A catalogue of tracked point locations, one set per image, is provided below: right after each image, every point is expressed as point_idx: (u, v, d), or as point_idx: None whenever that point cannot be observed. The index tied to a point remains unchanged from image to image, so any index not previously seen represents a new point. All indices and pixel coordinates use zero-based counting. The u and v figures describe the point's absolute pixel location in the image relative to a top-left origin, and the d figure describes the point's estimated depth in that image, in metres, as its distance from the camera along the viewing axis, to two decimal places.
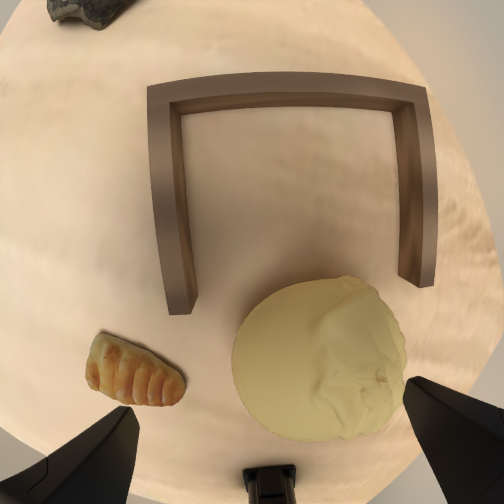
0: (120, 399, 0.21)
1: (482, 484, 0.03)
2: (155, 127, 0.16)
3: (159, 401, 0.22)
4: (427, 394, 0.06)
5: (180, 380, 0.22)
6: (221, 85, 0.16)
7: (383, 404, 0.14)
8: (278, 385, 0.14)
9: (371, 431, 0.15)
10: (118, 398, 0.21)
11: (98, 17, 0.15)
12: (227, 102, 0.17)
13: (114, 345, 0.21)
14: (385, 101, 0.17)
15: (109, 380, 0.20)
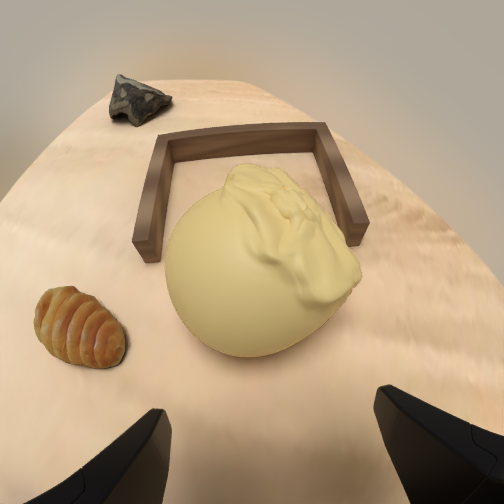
0: (54, 336, 0.18)
1: None
2: (157, 149, 0.29)
3: (91, 348, 0.19)
4: (395, 405, 0.06)
5: (121, 329, 0.20)
6: (197, 132, 0.30)
7: (307, 221, 0.15)
8: (195, 207, 0.17)
9: (319, 284, 0.14)
10: (53, 335, 0.18)
11: (137, 115, 0.37)
12: (201, 147, 0.31)
13: (76, 288, 0.22)
14: (298, 135, 0.31)
15: (55, 307, 0.19)
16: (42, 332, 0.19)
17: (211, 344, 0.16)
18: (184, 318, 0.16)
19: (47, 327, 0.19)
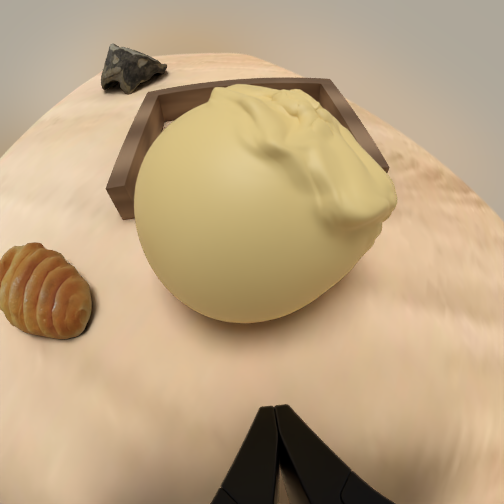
0: (11, 297, 0.14)
1: None
2: (146, 103, 0.24)
3: (49, 310, 0.14)
4: (278, 429, 0.06)
5: (86, 288, 0.16)
6: (190, 87, 0.26)
7: (322, 120, 0.10)
8: (176, 119, 0.12)
9: (346, 190, 0.09)
10: (10, 296, 0.14)
11: (129, 81, 0.32)
12: (194, 103, 0.27)
13: (42, 246, 0.18)
14: None
15: (15, 264, 0.15)
16: (0, 295, 0.14)
17: (189, 298, 0.11)
18: (152, 259, 0.11)
19: (5, 288, 0.14)
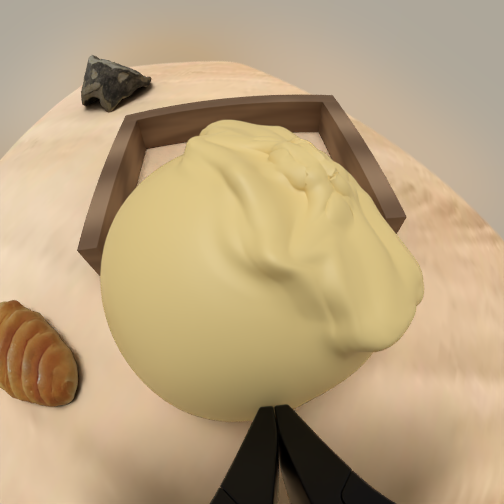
0: None
1: None
2: (123, 131, 0.21)
3: (34, 382, 0.12)
4: (278, 429, 0.06)
5: (69, 357, 0.13)
6: (172, 109, 0.23)
7: (339, 196, 0.08)
8: (142, 182, 0.09)
9: (369, 315, 0.06)
10: None
11: (110, 98, 0.29)
12: (178, 127, 0.24)
13: None
14: (300, 110, 0.24)
15: None
16: None
17: (176, 407, 0.09)
18: (130, 366, 0.09)
19: None
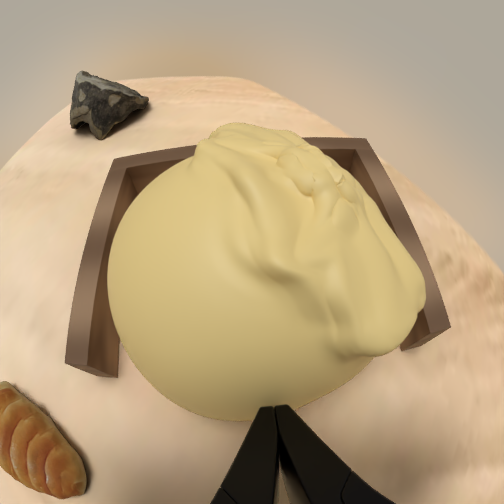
0: None
1: None
2: (109, 184, 0.18)
3: (43, 481, 0.08)
4: (278, 429, 0.06)
5: (74, 460, 0.10)
6: (170, 154, 0.19)
7: (345, 202, 0.08)
8: (152, 182, 0.10)
9: (370, 320, 0.07)
10: None
11: (100, 124, 0.26)
12: None
13: (12, 390, 0.12)
14: None
15: None
16: None
17: (177, 404, 0.09)
18: (133, 362, 0.09)
19: None
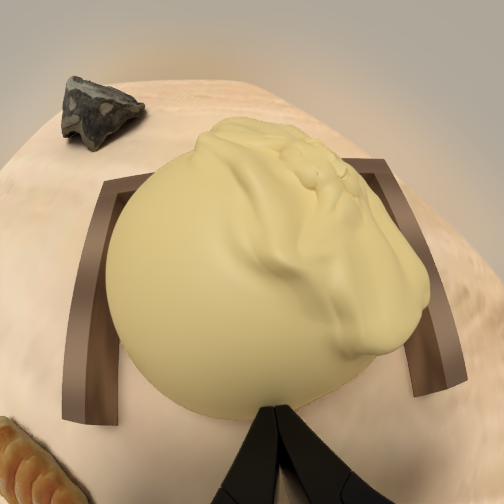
0: (3, 493, 0.06)
1: None
2: (99, 213, 0.16)
3: None
4: (278, 429, 0.06)
5: (79, 499, 0.08)
6: None
7: (349, 196, 0.08)
8: (152, 175, 0.09)
9: (375, 318, 0.06)
10: (2, 491, 0.06)
11: (92, 135, 0.24)
12: None
13: (11, 428, 0.10)
14: None
15: None
16: None
17: None
18: None
19: None
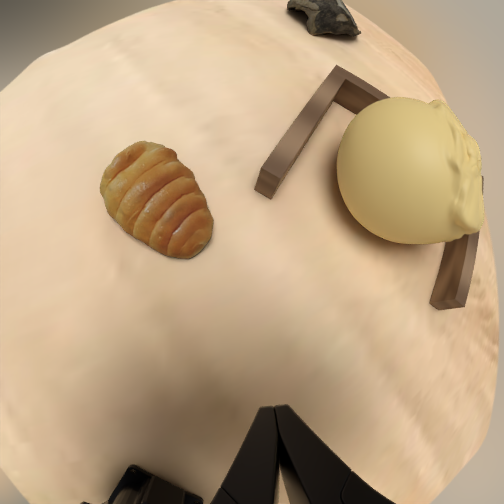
0: (129, 198, 0.18)
1: None
2: (331, 80, 0.22)
3: (169, 231, 0.18)
4: (278, 429, 0.06)
5: (212, 225, 0.20)
6: (377, 93, 0.22)
7: (477, 168, 0.14)
8: (411, 99, 0.15)
9: (468, 207, 0.14)
10: (127, 196, 0.18)
11: (319, 25, 0.27)
12: None
13: None
14: None
15: (145, 166, 0.18)
16: (112, 186, 0.18)
17: (363, 193, 0.17)
18: (359, 160, 0.17)
19: (123, 184, 0.18)
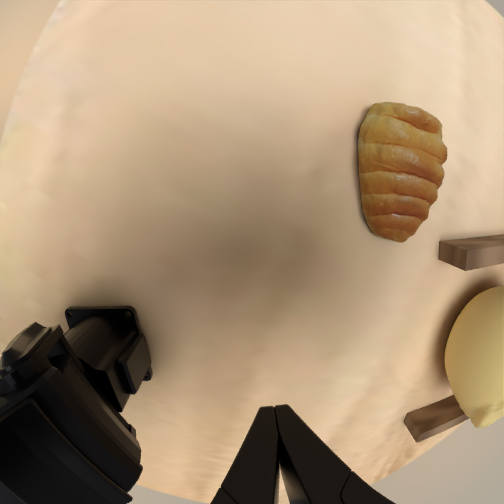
0: (397, 152, 0.15)
1: None
2: None
3: (391, 209, 0.16)
4: (278, 429, 0.06)
5: (410, 235, 0.18)
6: None
7: None
8: None
9: (492, 417, 0.13)
10: (397, 149, 0.15)
11: None
12: None
13: None
14: None
15: (428, 147, 0.14)
16: (392, 123, 0.15)
17: (478, 339, 0.15)
18: (499, 323, 0.14)
19: (403, 135, 0.14)
